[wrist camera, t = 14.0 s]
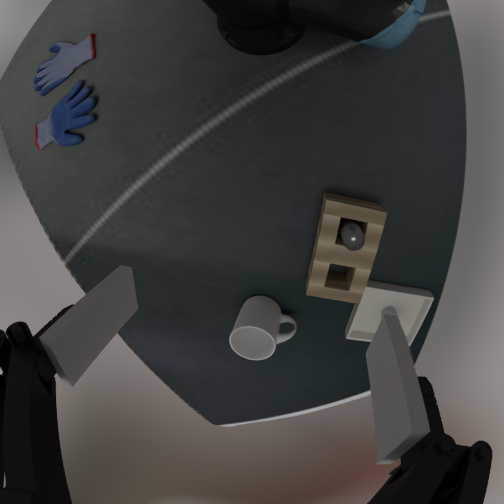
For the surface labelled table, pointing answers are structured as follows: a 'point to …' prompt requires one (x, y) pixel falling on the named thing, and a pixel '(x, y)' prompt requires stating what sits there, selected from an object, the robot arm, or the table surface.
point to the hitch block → (344, 249)
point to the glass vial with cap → (392, 311)
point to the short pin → (351, 234)
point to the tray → (380, 296)
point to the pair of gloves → (67, 109)
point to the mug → (259, 328)
